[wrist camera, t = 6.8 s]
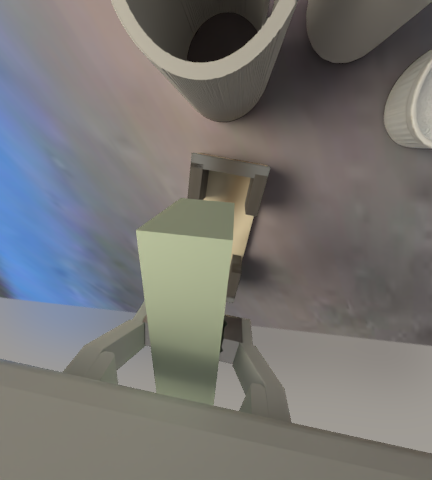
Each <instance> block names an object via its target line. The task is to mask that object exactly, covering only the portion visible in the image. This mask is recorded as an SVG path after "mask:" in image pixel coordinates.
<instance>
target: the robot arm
mask: <svg viewBox="0 0 432 480" xmlns="http://www.w3.org/2000/svg"><path fill="white" fill-rule="evenodd" d="M144 346H150V347H151V345H150V337H149V329H148V321H147V313H146V305H145V301H144V303H143V304H142V306H141V307H140V309H139V310H138V312H137V313H136V315H135V316H134V318H133V319H132V320H128V321H126V322H125V323H123V324H121V325H119V326H118V327H116V328H114V329H112V330H111V331H109V332H107V333H105V334H104V335H102V336H100V337H99V338H97V339H95V340H93V341H92V342H90V343H88V344H86V345H85V346H84V347H83V348H82V349H81V350H80V352H79V353H78V354H77V355H76V356H75V358H74V359H73V360H72V361H71V362H70V364H69V365H68V366H67V367H66V369H65V370H64V371H63V372H58V371H53V370H49V369H44V368H39V367H35V366H31V365H26V364H22V363H16V362H12V361H7V360H3V359H0V480H432V454H431V453H427V452H422V451H417V450H413V449H409V448H404V447H399V446H395V445H390V444H386V443H381V442H376V441H372V440H368V439H363V438H358V437H354V436H349V435H345V434H340V433H336V432H331V431H327V430H322V429H317V428H313V427H308V426H304V425H299V424H295V423H291V418H290V413H289V409H288V404H287V399H286V394H285V389H284V387H283V386H282V384H281V383H280V382H279V380H278V379H277V377H276V376H275V374H274V373H273V371H272V370H271V368H270V367H269V365H268V364H267V362H266V361H265V359H264V358H263V357H262V355H261V353H260V352H259V351H258V349H257V348H256V346H253V343H252V331H251V321H250V319H245V318H240V317H235V316H230V315H225V316H224V320H223V329H222V337H221V346H220V354H219V361H222V362H226V363H230V364H233V367H234V369H235V372H236V374H237V376H238V379H239V381H240V383H241V386H242V388H243V390H244V393H245V395H246V397H245V399H244V401H243V404H242V406H241V408H240V410H239V411H235V410H231V409H226V408H221V407H217V406H213V405H208V404H204V403H199V402H195V401H190V400H186V399H181V398H176V397H172V396H167V395H163V394H158V393H154V392H149V391H144V390H140V389H135V388H131V387H126V386H122V385H118V380H117V372H116V371H117V370H118V369H119V368H120V367H121V366H122V365H124V364H125V363H126V362H127V361H128V360H129V359H131V358H132V357H133V356H134V355H135V354H136V353H138V352H139V351H140V350H141V349H142V348H143V347H144Z"/></svg>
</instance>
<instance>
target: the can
mask: <svg viewBox="0 0 432 480" xmlns="http://www.w3.org/2000/svg"><path fill="white" fill-rule="evenodd" d="M431 2H432V0H308V6H307V12H306V22H307V34H308V37H309V39H310V42H311V45H312V47H313V49H314V50H315V51H316V52H317V53H318V54H319V55H320V57H321V58H323V59H325V60H328V61H330V62H332V63H348V62H351V61H354V60H356V59H359V58H361V57H363V56H364V55H366V54H367V53H369V52H370V51H371V50H373V49H374V48H375V47H377V46H378V45H379V44H380V43H382V42H383V41H384V40H385V39H387V38H388V37H389V36H390V35H391V34H393V33H394V32H395V31H396V30H398V29H399V28H400V27H401V26H403V25H404V24H405V23H406V22H407V21H409V20H410V19H411V18H412V17H414V16H415V15H416V14H417V13H419V12H420V11H421V10H422V9H424V8H425V7H426V6H427V5H428V4H430V3H431Z"/></svg>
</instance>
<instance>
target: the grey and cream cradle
mask: <svg viewBox="0 0 432 480" xmlns="http://www.w3.org/2000/svg"><path fill="white" fill-rule="evenodd" d="M269 171H270V167H268V166H267V165H263V164H258V163H252V162H246V161H241V160H235V159H230V158H224V157H219V156H213V155H208V154H202V153H198V154H197V153H192V156H191V167H190V178H189V188H188V199H197V200H208V201H219V202H230V203H235V206H234V228H233V244H232V253H231V261H230V270H229V278H228V286H227V295H226V302H229V303H233V302H234V299H235V295H236V292H237V288H238V284H239V281H240V277H241V263H242V259H243V255H244V251H245V248H246V244H247V240H248V236H249V232H250V229H251V225H252V221H253V217H254V216H256V217H257V215H258V211H259V207H260V204H261V200H262V196H263V193H264V189H265V185H266V182H267V178H268V174H269Z"/></svg>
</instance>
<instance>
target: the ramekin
mask: <svg viewBox="0 0 432 480" xmlns="http://www.w3.org/2000/svg"><path fill="white" fill-rule="evenodd" d="M384 125H385V128H386V131H387V133H388V135H389V136H390V137H391V139H392V140H393V141H394V142H396V143H397V144H399V145H402V146H405V147H410V148H427V149H432V49H431V50H430V51H428V52H427V53H425V54H424V55H422V56H421V57H419V58H418V59H417V60H416V61H415V62H414V63H412V64H411V65H410V66H409V67H408V68H407V69H406V70H405V71H404V73H403V74H402V75H401V76H400V77H399V79H398V80H397V82H396V83H395V85H394V87H393V88H392V90H391V92H390V94H389V97H388V99H387V102H386V105H385V111H384Z"/></svg>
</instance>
